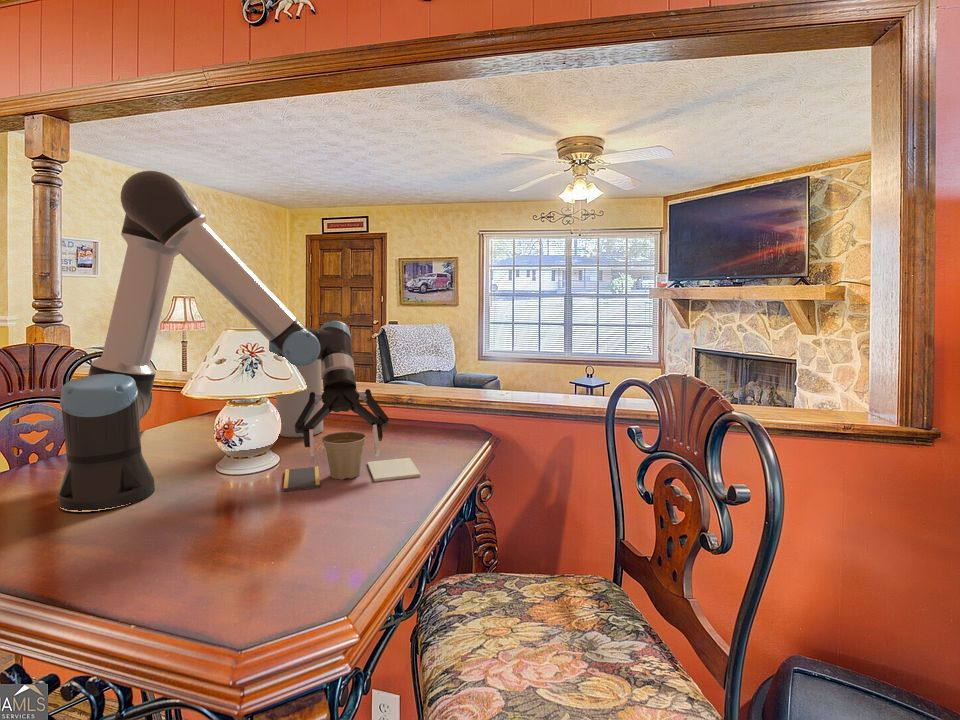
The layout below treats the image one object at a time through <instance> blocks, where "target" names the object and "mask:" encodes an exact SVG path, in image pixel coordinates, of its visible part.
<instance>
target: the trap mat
mask: <svg viewBox="0 0 960 720" xmlns="http://www.w3.org/2000/svg"><path fill="white" fill-rule="evenodd" d="M284 471H285V472H284V480H283V492H291V491H292V492H293V491H300V490H299V489H301V490H308V489H307V488H310V489H317V487H319V488H321V483H320V471H319V465H317V466H311V467H300V468H285V470H284Z"/></svg>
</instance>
